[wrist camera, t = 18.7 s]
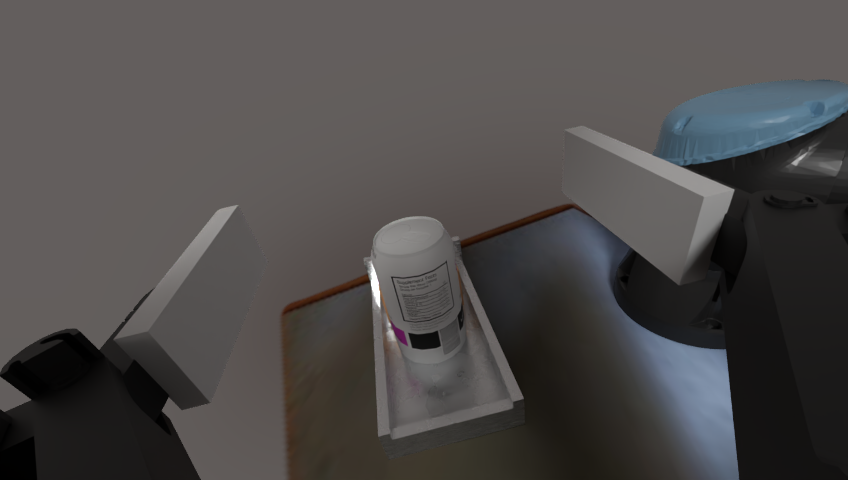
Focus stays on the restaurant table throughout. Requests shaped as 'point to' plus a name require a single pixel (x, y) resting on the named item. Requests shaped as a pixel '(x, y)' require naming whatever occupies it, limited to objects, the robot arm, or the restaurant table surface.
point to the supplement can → (420, 288)
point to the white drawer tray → (442, 382)
